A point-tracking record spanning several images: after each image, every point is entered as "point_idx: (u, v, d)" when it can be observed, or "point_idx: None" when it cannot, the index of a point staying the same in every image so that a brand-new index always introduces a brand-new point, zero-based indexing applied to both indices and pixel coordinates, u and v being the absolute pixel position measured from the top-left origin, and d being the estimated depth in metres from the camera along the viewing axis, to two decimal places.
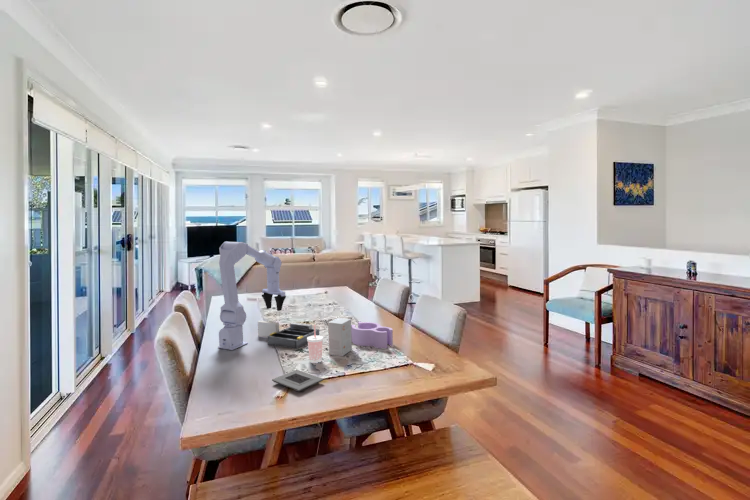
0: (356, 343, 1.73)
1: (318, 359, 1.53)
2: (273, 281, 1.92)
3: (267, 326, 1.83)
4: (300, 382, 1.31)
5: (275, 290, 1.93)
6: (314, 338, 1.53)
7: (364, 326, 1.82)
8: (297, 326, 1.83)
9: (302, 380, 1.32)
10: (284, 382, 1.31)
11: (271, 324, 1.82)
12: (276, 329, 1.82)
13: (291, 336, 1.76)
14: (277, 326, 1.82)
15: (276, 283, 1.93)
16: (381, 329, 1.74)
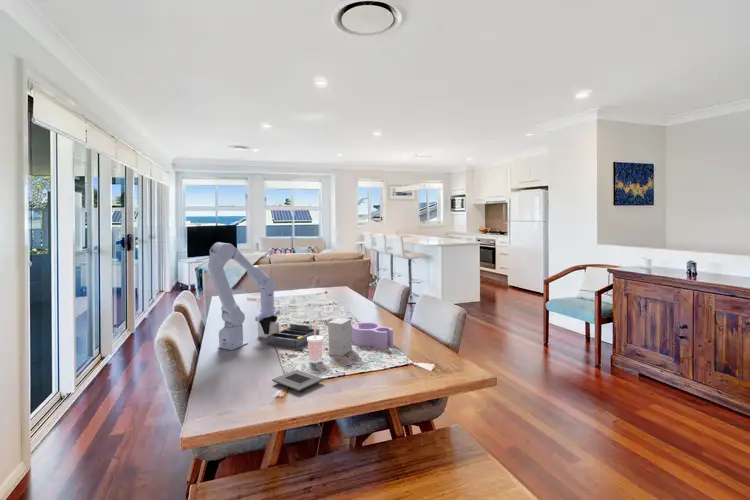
0: (356, 343, 1.73)
1: (318, 359, 1.53)
2: (265, 304, 1.81)
3: None
4: (300, 382, 1.31)
5: (262, 313, 1.82)
6: (314, 338, 1.53)
7: (365, 326, 1.82)
8: (297, 326, 1.83)
9: (302, 380, 1.32)
10: (284, 382, 1.31)
11: (271, 324, 1.82)
12: (276, 328, 1.82)
13: (291, 336, 1.76)
14: (277, 326, 1.83)
15: (262, 306, 1.81)
16: (381, 329, 1.74)
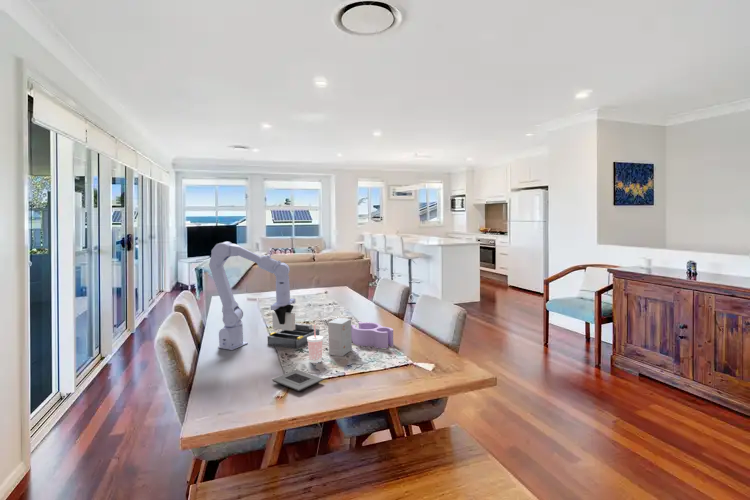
0: (357, 343, 1.72)
1: (318, 359, 1.53)
2: (277, 291, 1.71)
3: None
4: (300, 382, 1.31)
5: (277, 302, 1.72)
6: (314, 338, 1.53)
7: (365, 326, 1.81)
8: (297, 326, 1.83)
9: (302, 380, 1.32)
10: (284, 382, 1.31)
11: (287, 315, 1.72)
12: (292, 319, 1.72)
13: (291, 336, 1.76)
14: (293, 317, 1.73)
15: (278, 294, 1.71)
16: (382, 329, 1.74)
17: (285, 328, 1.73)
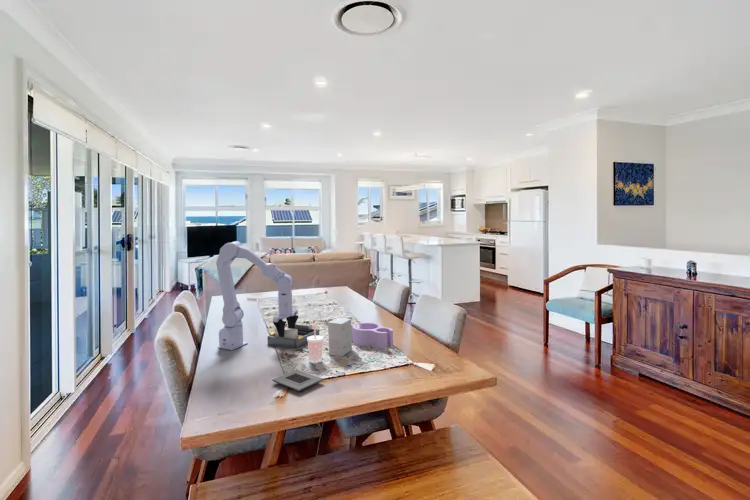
0: (356, 343, 1.72)
1: (318, 359, 1.53)
2: (279, 303, 1.71)
3: (285, 333, 1.72)
4: (300, 382, 1.31)
5: (279, 313, 1.71)
6: (314, 338, 1.53)
7: (366, 326, 1.81)
8: (297, 326, 1.83)
9: (302, 380, 1.32)
10: (284, 382, 1.31)
11: (289, 331, 1.71)
12: (295, 336, 1.71)
13: None
14: (296, 333, 1.72)
15: (280, 306, 1.70)
16: (382, 329, 1.73)
17: None
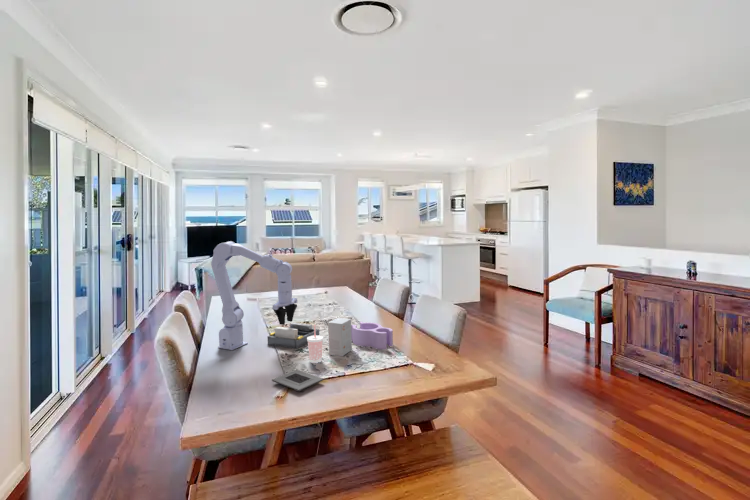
0: (356, 343, 1.72)
1: (318, 359, 1.53)
2: (279, 291, 1.70)
3: (285, 333, 1.72)
4: (300, 382, 1.31)
5: (279, 301, 1.70)
6: (314, 338, 1.53)
7: (366, 327, 1.81)
8: (297, 326, 1.83)
9: (302, 380, 1.32)
10: (284, 382, 1.31)
11: (290, 331, 1.71)
12: (295, 336, 1.71)
13: None
14: (296, 333, 1.72)
15: (280, 294, 1.70)
16: (381, 330, 1.73)
17: None
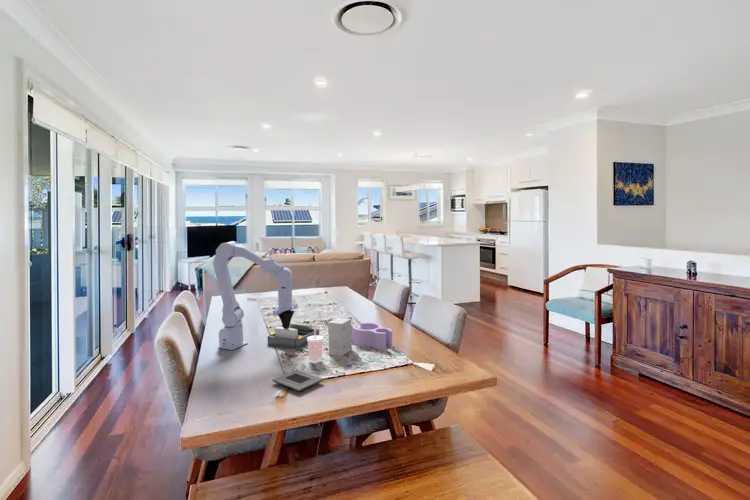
0: (356, 343, 1.72)
1: (318, 359, 1.53)
2: (279, 296, 1.70)
3: (285, 333, 1.72)
4: (300, 382, 1.31)
5: (279, 307, 1.71)
6: (314, 338, 1.53)
7: (366, 327, 1.81)
8: (297, 326, 1.83)
9: (302, 380, 1.32)
10: (284, 382, 1.31)
11: (289, 331, 1.71)
12: (295, 336, 1.71)
13: None
14: (296, 333, 1.72)
15: (280, 299, 1.70)
16: (381, 330, 1.73)
17: None
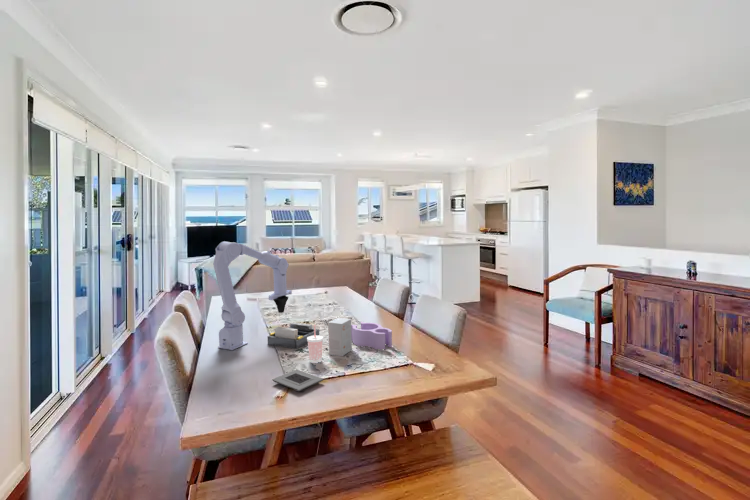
0: (356, 343, 1.72)
1: (318, 359, 1.53)
2: (278, 283, 1.85)
3: (285, 333, 1.72)
4: (300, 382, 1.31)
5: (275, 292, 1.87)
6: (314, 338, 1.53)
7: (367, 327, 1.81)
8: (297, 326, 1.83)
9: (302, 380, 1.32)
10: (284, 382, 1.31)
11: (290, 331, 1.71)
12: (295, 336, 1.71)
13: None
14: (296, 333, 1.72)
15: (275, 285, 1.86)
16: (381, 330, 1.72)
17: None
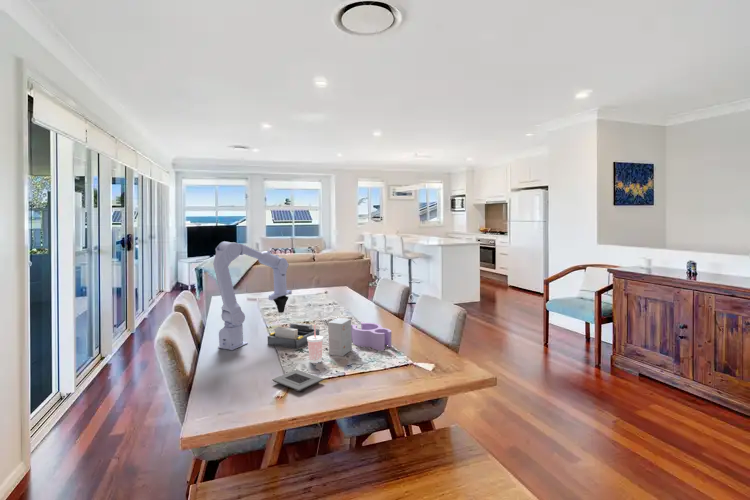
0: (355, 343, 1.72)
1: (318, 359, 1.53)
2: (278, 283, 1.85)
3: (285, 333, 1.72)
4: (300, 382, 1.31)
5: (275, 292, 1.87)
6: (314, 338, 1.53)
7: (367, 327, 1.81)
8: (297, 326, 1.83)
9: (302, 380, 1.32)
10: (284, 382, 1.31)
11: (289, 331, 1.71)
12: (295, 336, 1.71)
13: None
14: (296, 333, 1.72)
15: (275, 285, 1.86)
16: (381, 330, 1.72)
17: None
